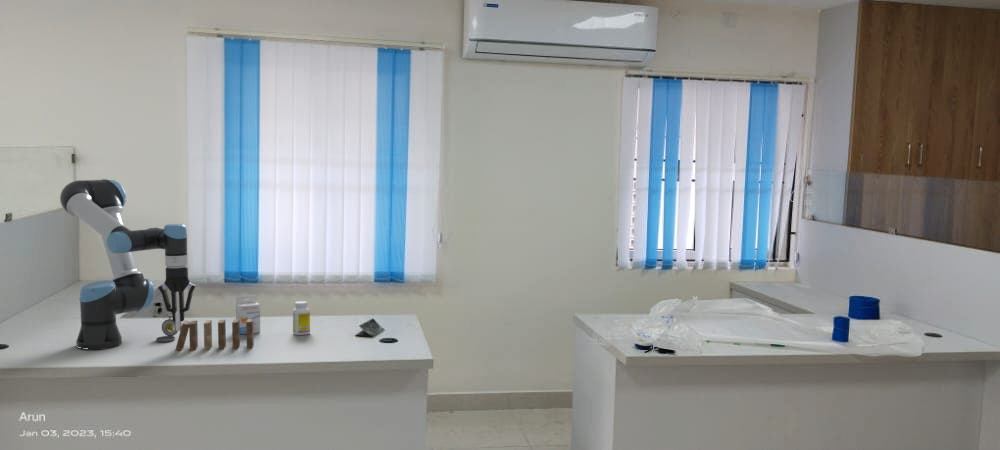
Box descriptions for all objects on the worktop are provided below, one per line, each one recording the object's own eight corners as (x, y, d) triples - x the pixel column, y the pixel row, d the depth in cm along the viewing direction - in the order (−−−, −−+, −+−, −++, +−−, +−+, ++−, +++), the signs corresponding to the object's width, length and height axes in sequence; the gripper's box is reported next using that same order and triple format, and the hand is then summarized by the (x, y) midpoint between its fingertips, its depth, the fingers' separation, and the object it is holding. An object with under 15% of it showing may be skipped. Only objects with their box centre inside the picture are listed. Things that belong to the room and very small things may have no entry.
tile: (204, 349, 290) (203, 323, 289) (206, 346, 295) (205, 320, 294) (210, 349, 291) (209, 323, 290) (212, 346, 296) (211, 320, 295)
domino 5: (246, 348, 293) (246, 322, 292) (248, 345, 298) (247, 319, 297) (252, 348, 294) (251, 321, 293) (253, 344, 299) (253, 318, 298)
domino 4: (232, 348, 292) (232, 322, 291) (234, 345, 297) (233, 319, 296) (238, 348, 293) (237, 322, 292) (239, 345, 298) (239, 319, 297)
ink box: (239, 335, 313) (238, 298, 312) (236, 332, 318) (235, 296, 316) (260, 332, 318) (260, 296, 317) (257, 330, 322) (256, 294, 321)
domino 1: (175, 349, 288) (182, 323, 288) (178, 346, 293) (185, 320, 293) (181, 350, 289) (188, 324, 288) (183, 347, 294) (190, 321, 293)
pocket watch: (157, 343, 299) (156, 317, 298) (155, 338, 306) (154, 313, 305) (180, 341, 302) (179, 315, 301) (178, 336, 310) (177, 311, 309)
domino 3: (218, 349, 291) (217, 322, 290) (220, 345, 296) (219, 319, 295) (224, 349, 292) (223, 322, 291) (225, 345, 297) (225, 319, 296)
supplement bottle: (313, 332, 319) (313, 301, 318) (302, 336, 313) (302, 304, 312) (300, 331, 322) (299, 300, 320) (289, 334, 316) (289, 302, 314)
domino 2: (189, 350, 289) (189, 323, 288) (192, 346, 294) (191, 320, 293) (195, 350, 290) (194, 323, 289) (197, 346, 295) (197, 320, 294)
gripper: (155, 268, 283) (157, 333, 285) (193, 267, 285) (195, 331, 287) (160, 265, 290) (162, 328, 292) (197, 264, 293) (199, 327, 295)
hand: (178, 330), depth 290 cm, fingers closed
